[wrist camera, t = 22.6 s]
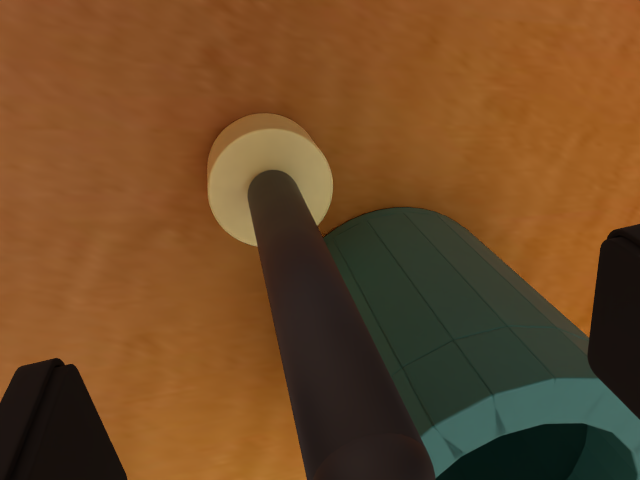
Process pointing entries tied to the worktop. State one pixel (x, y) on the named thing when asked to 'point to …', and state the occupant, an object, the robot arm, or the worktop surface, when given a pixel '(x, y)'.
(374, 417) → the joystick
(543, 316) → the teal hollow cylinder
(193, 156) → the worktop surface
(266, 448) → the worktop surface
